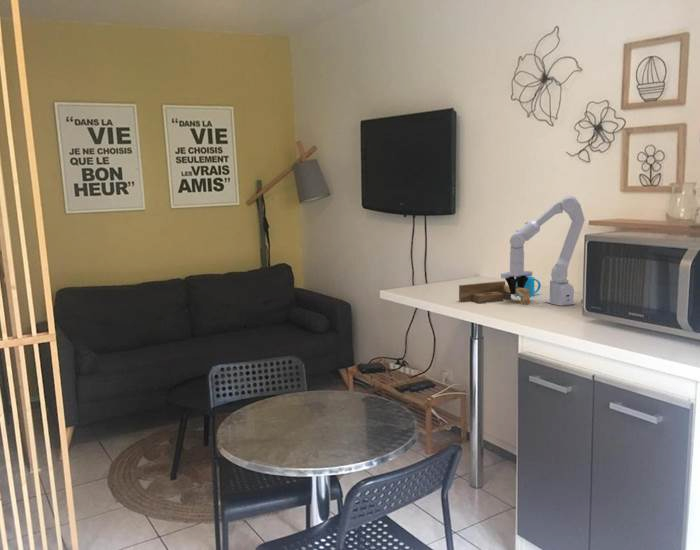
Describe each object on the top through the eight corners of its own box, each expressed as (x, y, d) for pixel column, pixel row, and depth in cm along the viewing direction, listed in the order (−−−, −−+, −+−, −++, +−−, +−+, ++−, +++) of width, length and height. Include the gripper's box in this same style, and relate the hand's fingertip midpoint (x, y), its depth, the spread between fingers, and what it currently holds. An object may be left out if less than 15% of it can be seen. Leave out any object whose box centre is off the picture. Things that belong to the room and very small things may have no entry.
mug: (521, 297, 275) (521, 279, 274) (511, 294, 283) (511, 276, 282) (545, 295, 278) (545, 277, 277) (535, 292, 286) (535, 274, 285)
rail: (529, 303, 262) (529, 289, 261) (523, 304, 261) (523, 290, 260) (509, 298, 275) (509, 284, 274) (503, 298, 274) (503, 285, 273)
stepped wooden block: (513, 299, 271) (513, 283, 270) (469, 304, 263) (469, 288, 262) (502, 296, 279) (502, 281, 278) (459, 301, 271) (459, 285, 270)
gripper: (525, 259, 271) (524, 291, 274) (496, 262, 266) (496, 293, 268) (535, 261, 265) (535, 293, 267) (506, 264, 260) (506, 296, 262)
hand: (516, 294), depth 267 cm, fingers closed on rail, 3 cm apart
